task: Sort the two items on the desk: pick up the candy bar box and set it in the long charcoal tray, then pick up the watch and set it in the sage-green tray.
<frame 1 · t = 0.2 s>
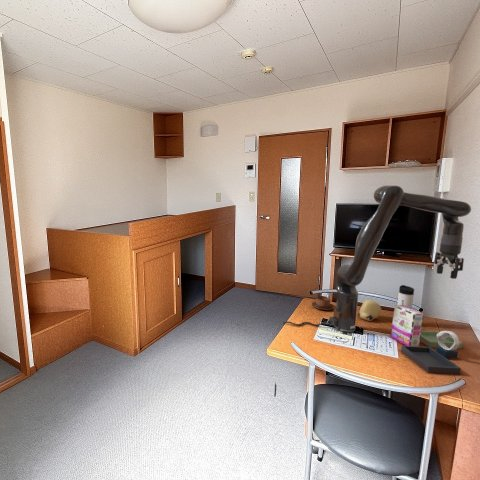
hand: (446, 275, 154), 29 cm above the table, tool pointing down, fingers open, 8 cm apart
yellow quince: (368, 318, 175), on the table
watch: (445, 356, 136), on the table
travel mug: (402, 322, 169), on the table
sage tray: (435, 341, 149), on the table
cup and saucer: (322, 308, 191), on the table
charcoal tray: (428, 361, 132), on the table
candy bar box: (404, 342, 148), on the table
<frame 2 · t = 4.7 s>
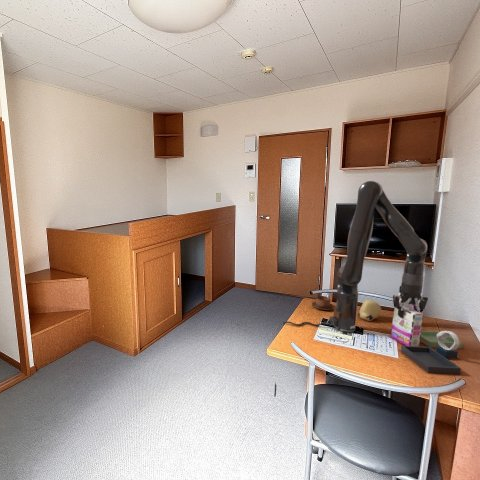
hand: (407, 317, 146), 12 cm above the table, tool pointing down, fingers closed on candy bar box, 5 cm apart
candy bar box: (404, 342, 148), on the table, touching gripper
everything else where it was.
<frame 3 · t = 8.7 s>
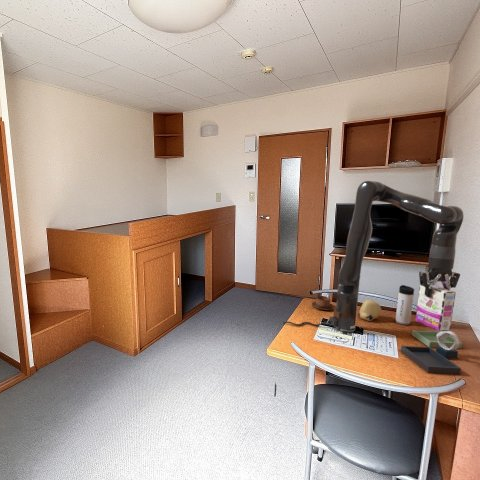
hand: (436, 296, 128), 28 cm above the table, tool pointing down, fingers closed on candy bar box, 5 cm apart
candy bar box: (431, 326, 130), point 15 cm above the table, touching gripper
everything else where it was.
when the fingers open (13 cm above the table, at t = 12.5 s): candy bar box stays where it is, resting on charcoal tray.
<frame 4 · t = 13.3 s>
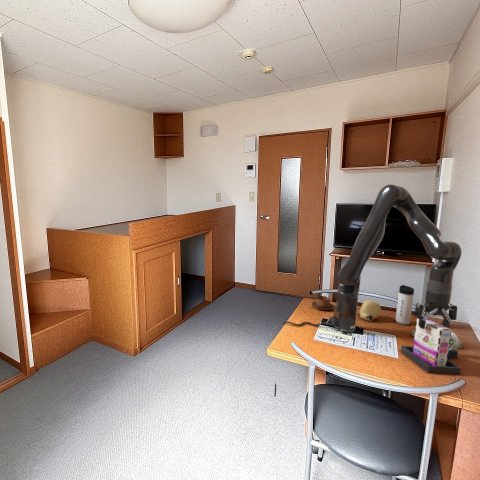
hand: (433, 328, 129), 15 cm above the table, tool pointing down, fingers open, 8 cm apart
candy bar box: (428, 360, 132), resting on charcoal tray
everything else where it was.
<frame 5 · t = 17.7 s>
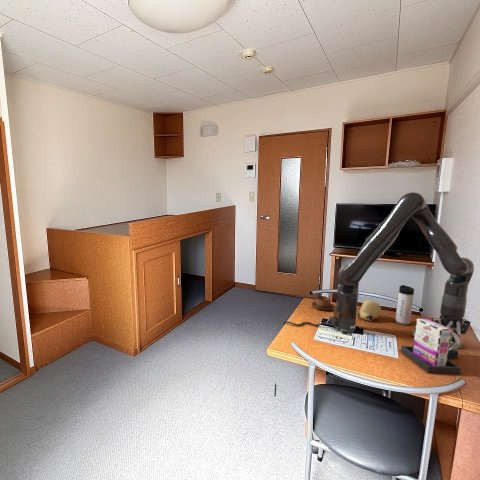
hand: (447, 341, 135), 6 cm above the table, tool pointing down, fingers closed on watch, 4 cm apart
watch: (445, 355, 136), on the table, touching gripper
everything else where it was.
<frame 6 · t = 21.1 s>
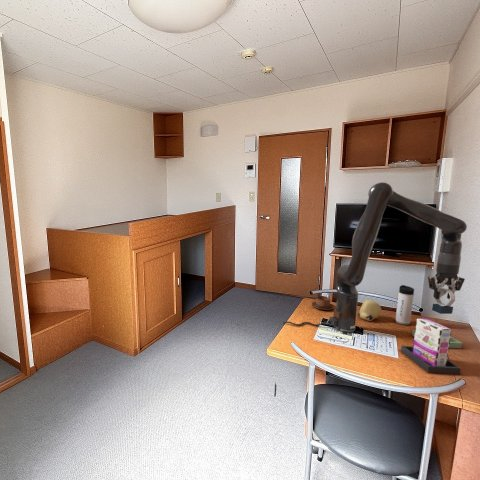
hand: (443, 298, 144), 22 cm above the table, tool pointing down, fingers closed on watch, 4 cm apart
watch: (441, 312, 145), point 15 cm above the table, touching gripper
everything else where it was.
when the fingers open (7 cm above the table, at t = 24.9 s): watch stays where it is, resting on sage tray.
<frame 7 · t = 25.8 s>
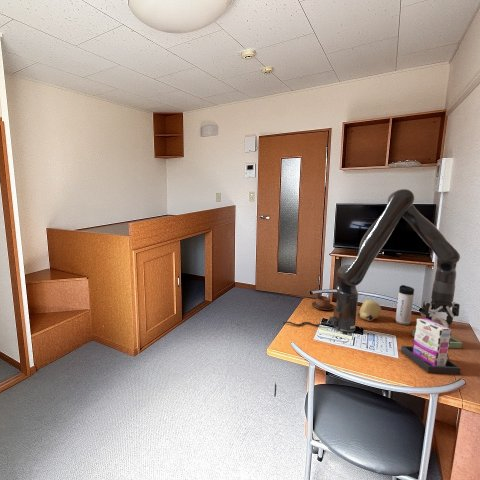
hand: (438, 323, 147), 9 cm above the table, tool pointing down, fingers open, 8 cm apart
watch: (436, 340, 149), resting on sage tray
everything else where it was.
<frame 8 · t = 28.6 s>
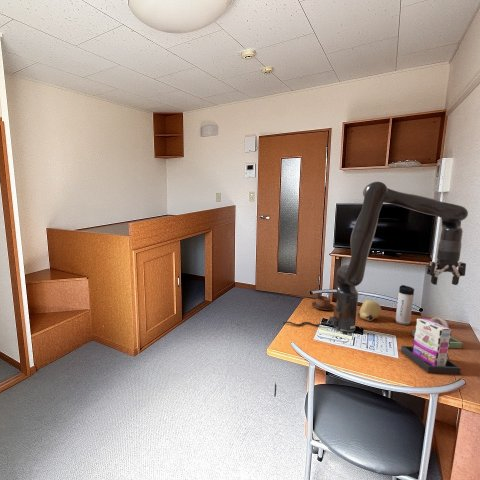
hand: (444, 284, 144), 28 cm above the table, tool pointing down, fingers open, 8 cm apart
nothing on the table moved.
at the end: candy bar box inside the target area in the charcoal tray (0.1 cm from its centre), point 0.4 cm above the charcoal tray's base; watch inside the target area in the sage tray (0.2 cm from its centre), point 0.4 cm above the sage tray's base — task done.
